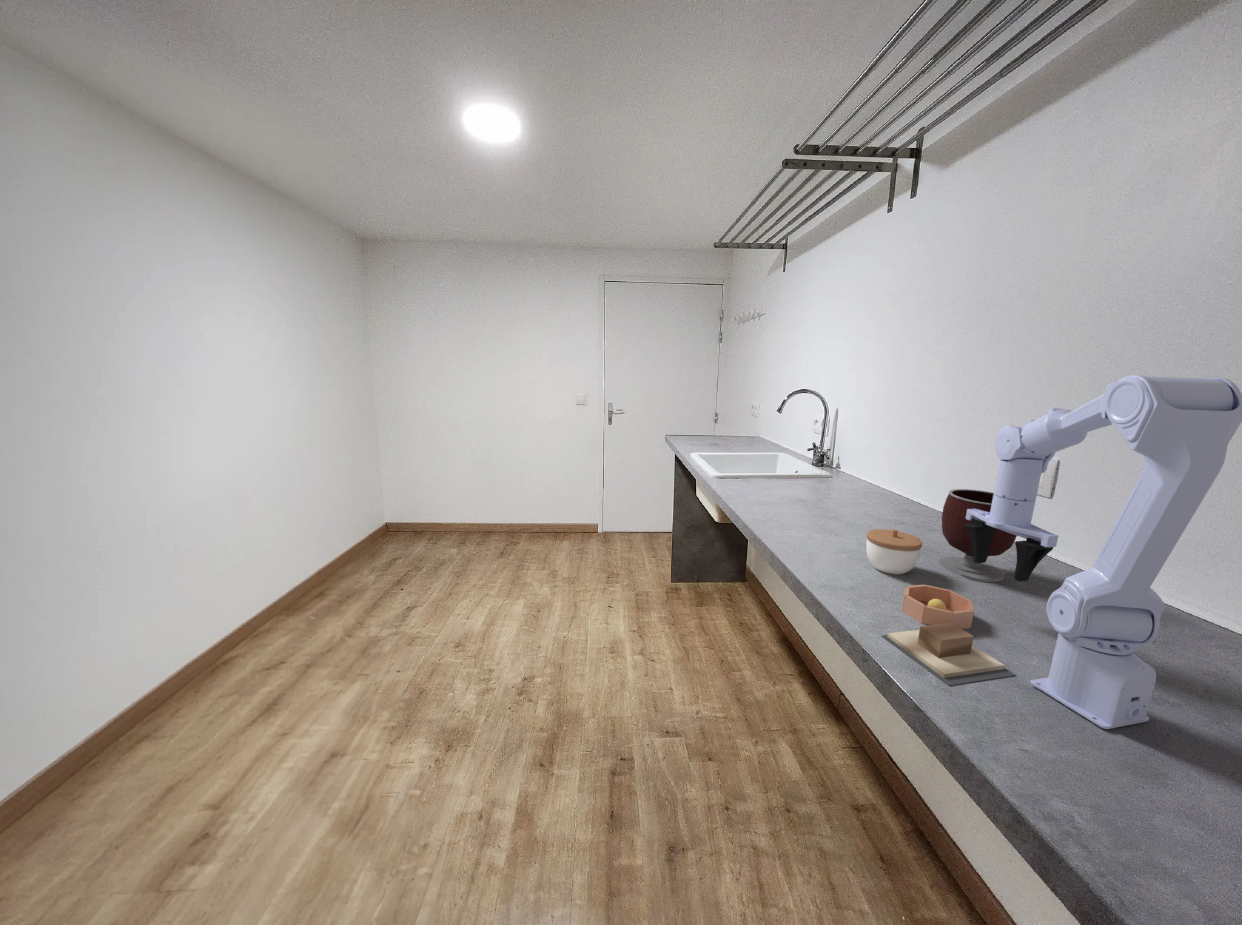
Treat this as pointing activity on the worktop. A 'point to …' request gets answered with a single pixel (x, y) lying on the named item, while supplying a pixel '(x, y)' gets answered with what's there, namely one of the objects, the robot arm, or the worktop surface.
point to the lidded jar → (892, 550)
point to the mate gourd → (960, 539)
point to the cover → (946, 650)
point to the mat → (962, 678)
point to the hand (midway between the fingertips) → (999, 570)
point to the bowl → (956, 612)
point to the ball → (937, 604)
